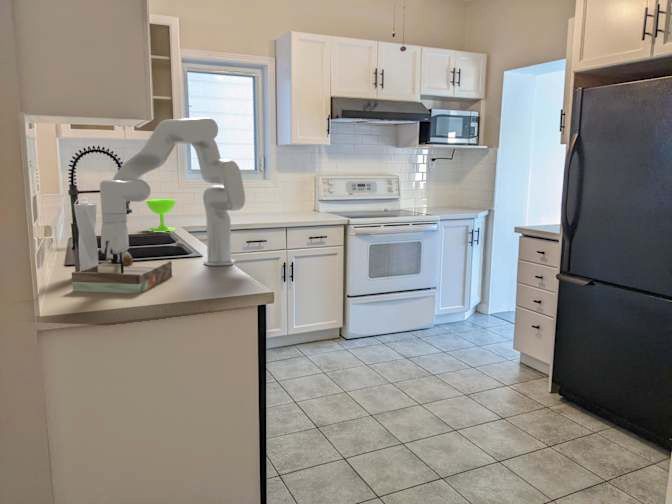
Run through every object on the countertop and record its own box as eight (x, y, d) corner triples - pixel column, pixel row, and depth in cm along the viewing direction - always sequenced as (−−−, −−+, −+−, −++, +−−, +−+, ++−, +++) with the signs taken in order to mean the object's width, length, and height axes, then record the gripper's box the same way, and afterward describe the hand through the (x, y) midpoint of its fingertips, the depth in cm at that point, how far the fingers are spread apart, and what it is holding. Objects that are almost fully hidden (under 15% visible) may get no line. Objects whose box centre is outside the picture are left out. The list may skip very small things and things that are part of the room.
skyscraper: (77, 272, 195) (72, 196, 191) (101, 271, 198) (97, 196, 194) (75, 277, 188) (69, 198, 183) (100, 276, 190) (95, 198, 186)
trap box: (113, 274, 194) (112, 258, 193) (172, 276, 192) (171, 259, 191) (72, 291, 169) (71, 272, 168) (139, 293, 167) (138, 274, 166)
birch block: (106, 278, 173) (105, 263, 172) (121, 279, 173) (120, 264, 172) (98, 282, 168) (97, 266, 168) (113, 282, 168) (112, 267, 167)
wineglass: (179, 231, 311) (178, 200, 308) (151, 233, 303) (150, 201, 300) (172, 228, 325) (171, 199, 322) (145, 230, 316) (143, 199, 313)
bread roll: (133, 274, 212) (140, 255, 213) (110, 266, 204) (117, 247, 205) (121, 270, 218) (128, 252, 219) (98, 263, 210) (106, 244, 212)
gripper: (115, 215, 180) (118, 268, 183) (90, 220, 165) (94, 278, 168) (136, 216, 179) (139, 269, 182) (113, 221, 164) (117, 279, 168)
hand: (117, 273), depth 175 cm, fingers closed
